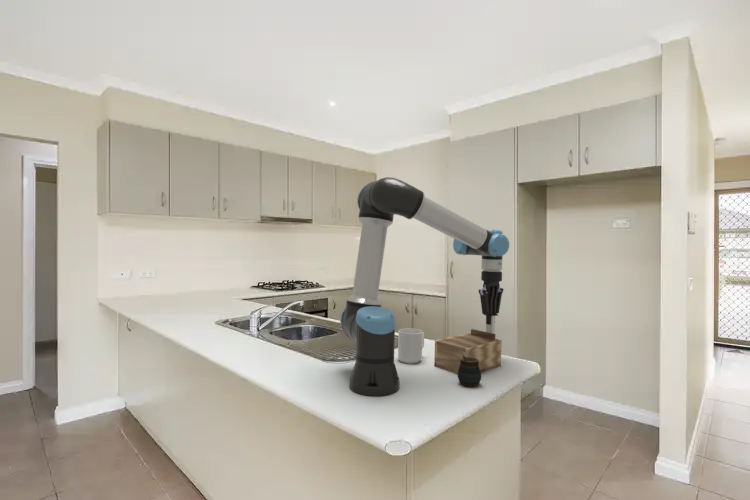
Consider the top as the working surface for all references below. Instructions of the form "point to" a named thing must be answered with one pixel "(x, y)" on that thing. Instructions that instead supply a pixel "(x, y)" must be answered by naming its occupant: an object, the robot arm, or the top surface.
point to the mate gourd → (469, 371)
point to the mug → (410, 345)
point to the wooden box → (484, 353)
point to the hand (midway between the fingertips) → (490, 332)
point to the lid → (468, 340)
